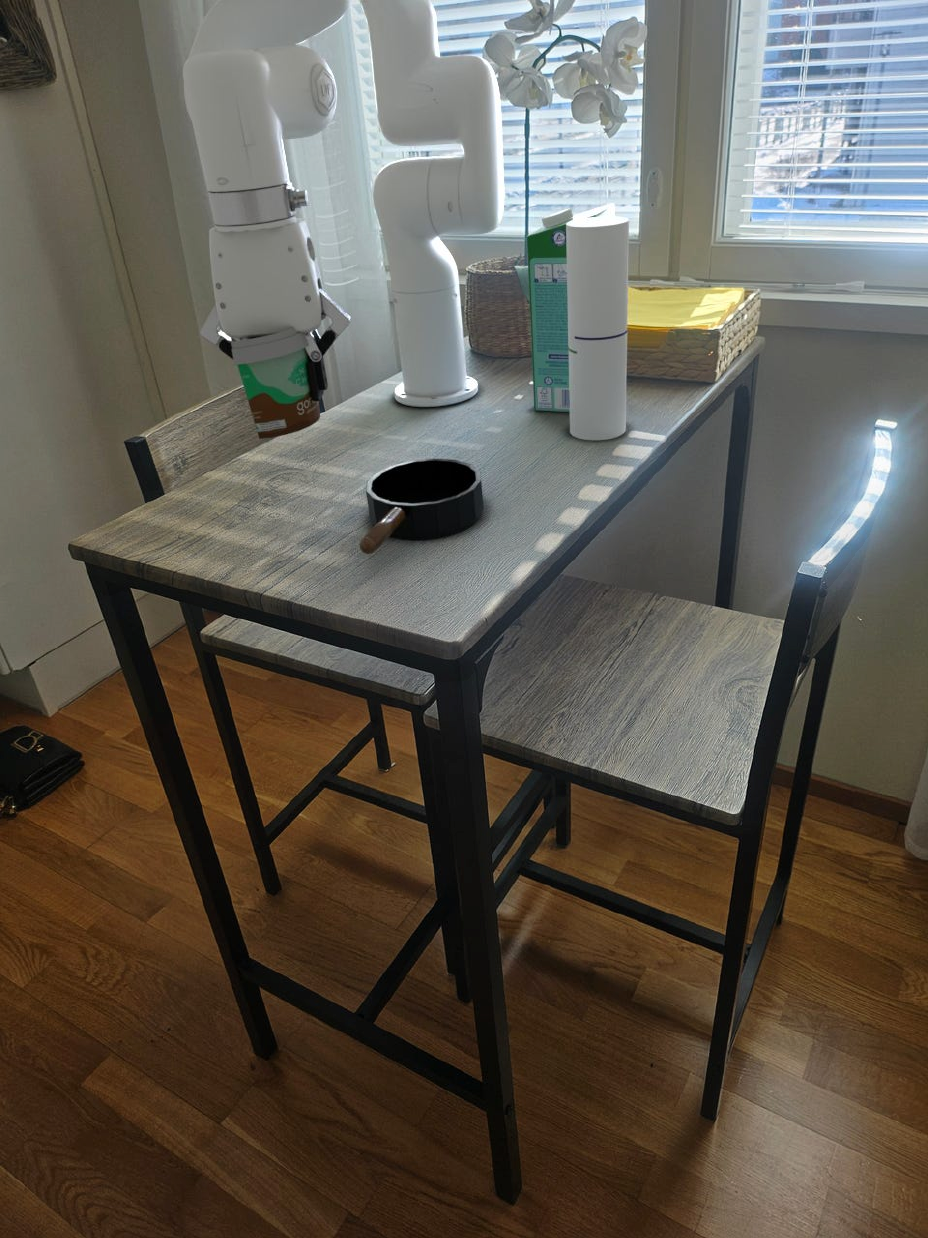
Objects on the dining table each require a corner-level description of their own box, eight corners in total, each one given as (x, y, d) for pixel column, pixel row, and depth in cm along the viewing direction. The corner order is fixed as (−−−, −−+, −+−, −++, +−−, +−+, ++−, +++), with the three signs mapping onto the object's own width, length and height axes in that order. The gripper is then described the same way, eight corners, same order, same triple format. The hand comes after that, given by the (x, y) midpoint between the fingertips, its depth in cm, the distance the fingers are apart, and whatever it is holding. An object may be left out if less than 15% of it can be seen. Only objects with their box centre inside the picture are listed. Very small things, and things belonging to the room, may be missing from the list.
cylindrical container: (604, 444, 110) (605, 228, 96) (558, 433, 114) (553, 225, 101) (636, 426, 114) (641, 217, 101) (591, 417, 118) (590, 215, 105)
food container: (313, 440, 87) (290, 337, 82) (254, 444, 88) (228, 343, 83) (344, 399, 97) (325, 306, 92) (291, 404, 98) (270, 311, 93)
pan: (400, 487, 104) (395, 455, 102) (499, 495, 99) (496, 461, 97) (313, 571, 88) (306, 535, 86) (427, 585, 83) (422, 547, 81)
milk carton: (553, 389, 129) (547, 204, 116) (613, 392, 126) (614, 201, 113) (533, 410, 123) (525, 215, 109) (597, 414, 119) (596, 213, 106)
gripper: (349, 195, 84) (375, 382, 94) (175, 211, 85) (218, 394, 95) (338, 205, 78) (367, 405, 87) (150, 222, 79) (198, 417, 89)
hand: (289, 397), depth 91 cm, fingers closed on food container, 5 cm apart
